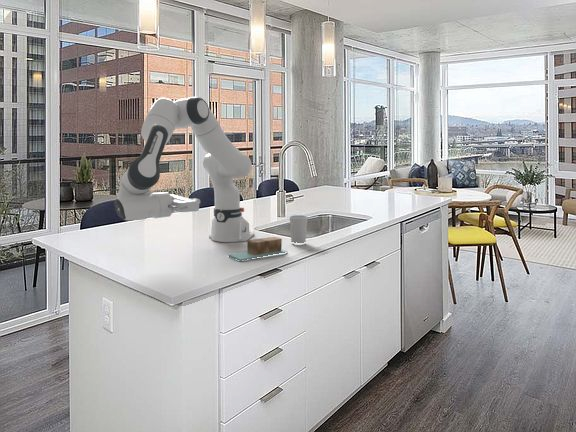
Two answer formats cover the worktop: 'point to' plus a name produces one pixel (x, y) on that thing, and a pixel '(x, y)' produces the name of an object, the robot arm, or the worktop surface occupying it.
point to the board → (246, 255)
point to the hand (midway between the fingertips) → (198, 201)
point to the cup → (298, 228)
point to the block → (264, 245)
